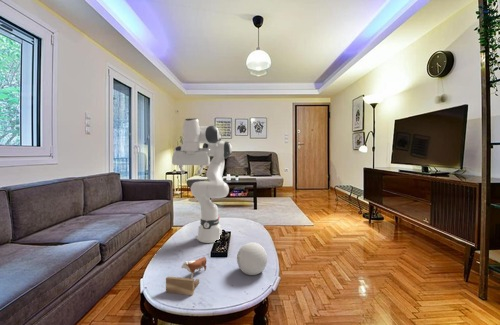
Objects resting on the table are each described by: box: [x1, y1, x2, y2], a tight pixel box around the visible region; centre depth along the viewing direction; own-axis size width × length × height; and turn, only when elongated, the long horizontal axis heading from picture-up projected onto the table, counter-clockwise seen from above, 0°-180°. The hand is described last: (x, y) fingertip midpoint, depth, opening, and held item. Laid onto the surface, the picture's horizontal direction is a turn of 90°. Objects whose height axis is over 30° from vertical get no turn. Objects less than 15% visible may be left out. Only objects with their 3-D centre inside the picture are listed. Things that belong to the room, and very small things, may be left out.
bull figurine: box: [180, 256, 208, 279], centre depth 115 cm, size 4×13×8 cm, turn 135°
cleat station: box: [165, 276, 200, 296], centre depth 104 cm, size 10×12×6 cm
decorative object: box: [236, 241, 268, 276], centre depth 117 cm, size 15×15×15 cm
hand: (191, 173), depth 128 cm, fingers open, 8 cm apart
